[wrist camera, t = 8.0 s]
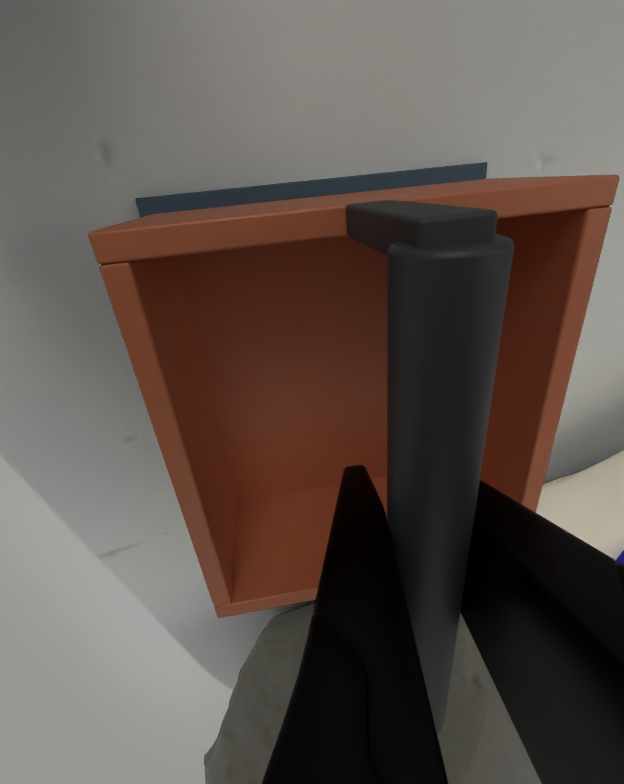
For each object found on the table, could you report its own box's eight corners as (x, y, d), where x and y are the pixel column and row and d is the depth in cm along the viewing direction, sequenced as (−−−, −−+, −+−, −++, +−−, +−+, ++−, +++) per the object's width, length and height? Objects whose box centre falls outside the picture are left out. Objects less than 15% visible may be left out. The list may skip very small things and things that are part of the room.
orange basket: (454, 465, 15) (628, 703, 8) (226, 503, 15) (204, 797, 8) (485, 178, 11) (946, 164, 4) (150, 214, 10) (-94, 282, 3)
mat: (455, 440, 18) (458, 444, 18) (212, 476, 17) (212, 481, 17) (483, 162, 13) (488, 162, 12) (137, 198, 12) (134, 198, 12)
